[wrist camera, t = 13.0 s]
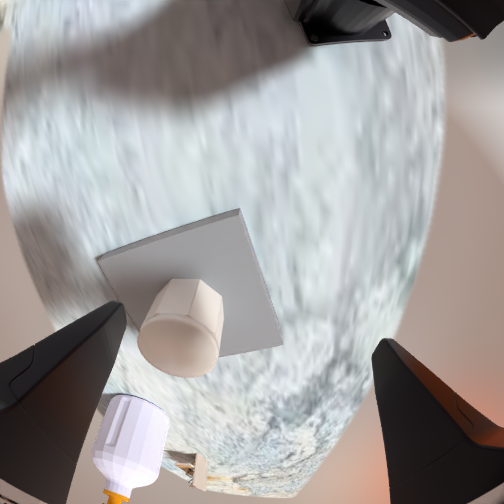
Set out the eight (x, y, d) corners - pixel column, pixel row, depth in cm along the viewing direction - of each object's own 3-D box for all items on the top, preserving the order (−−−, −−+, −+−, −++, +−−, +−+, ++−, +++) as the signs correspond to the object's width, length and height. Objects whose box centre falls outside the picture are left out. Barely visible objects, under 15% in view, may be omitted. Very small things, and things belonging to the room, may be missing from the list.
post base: (240, 208, 19) (234, 239, 14) (282, 333, 24) (287, 380, 19) (105, 253, 21) (72, 287, 16) (166, 354, 25) (152, 396, 21)
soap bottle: (182, 417, 32) (156, 572, 9) (151, 429, 34) (123, 556, 12) (127, 386, 29) (77, 551, 7) (103, 402, 32) (59, 533, 9)
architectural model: (193, 460, 41) (189, 490, 34) (178, 448, 38) (172, 481, 32) (209, 460, 41) (205, 492, 34) (194, 448, 38) (190, 483, 31)
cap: (196, 341, 22) (186, 386, 18) (146, 304, 21) (124, 346, 16) (238, 308, 21) (234, 355, 16) (183, 264, 19) (164, 306, 15)
